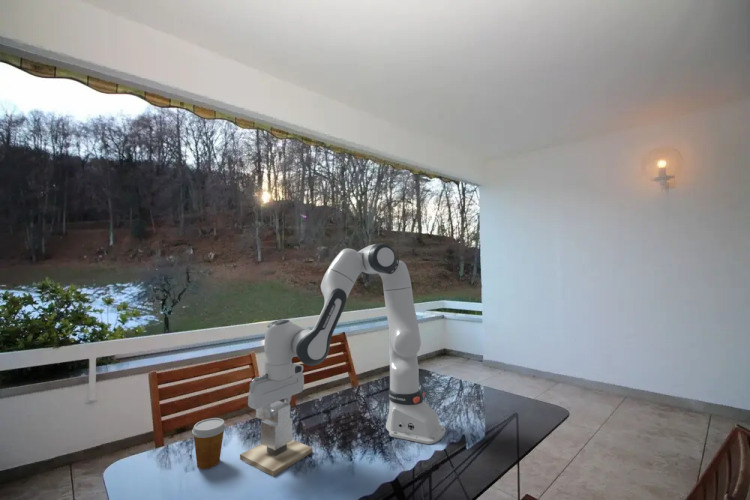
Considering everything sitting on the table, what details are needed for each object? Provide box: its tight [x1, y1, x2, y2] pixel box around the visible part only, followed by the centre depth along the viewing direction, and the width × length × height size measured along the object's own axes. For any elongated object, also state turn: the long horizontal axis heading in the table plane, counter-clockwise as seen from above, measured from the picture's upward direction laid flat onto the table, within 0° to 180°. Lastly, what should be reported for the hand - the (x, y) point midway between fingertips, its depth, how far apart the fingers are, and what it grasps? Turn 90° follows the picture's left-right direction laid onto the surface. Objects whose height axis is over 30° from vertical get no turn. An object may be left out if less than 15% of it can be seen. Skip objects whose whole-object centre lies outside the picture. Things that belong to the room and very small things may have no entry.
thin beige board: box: [239, 439, 313, 477], centre depth 112 cm, size 16×16×6 cm
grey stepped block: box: [255, 400, 293, 450], centre depth 114 cm, size 11×7×12 cm, turn 55°
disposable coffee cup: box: [191, 417, 227, 470], centre depth 108 cm, size 10×10×12 cm
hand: (277, 413), depth 113 cm, fingers closed on grey stepped block, 5 cm apart
